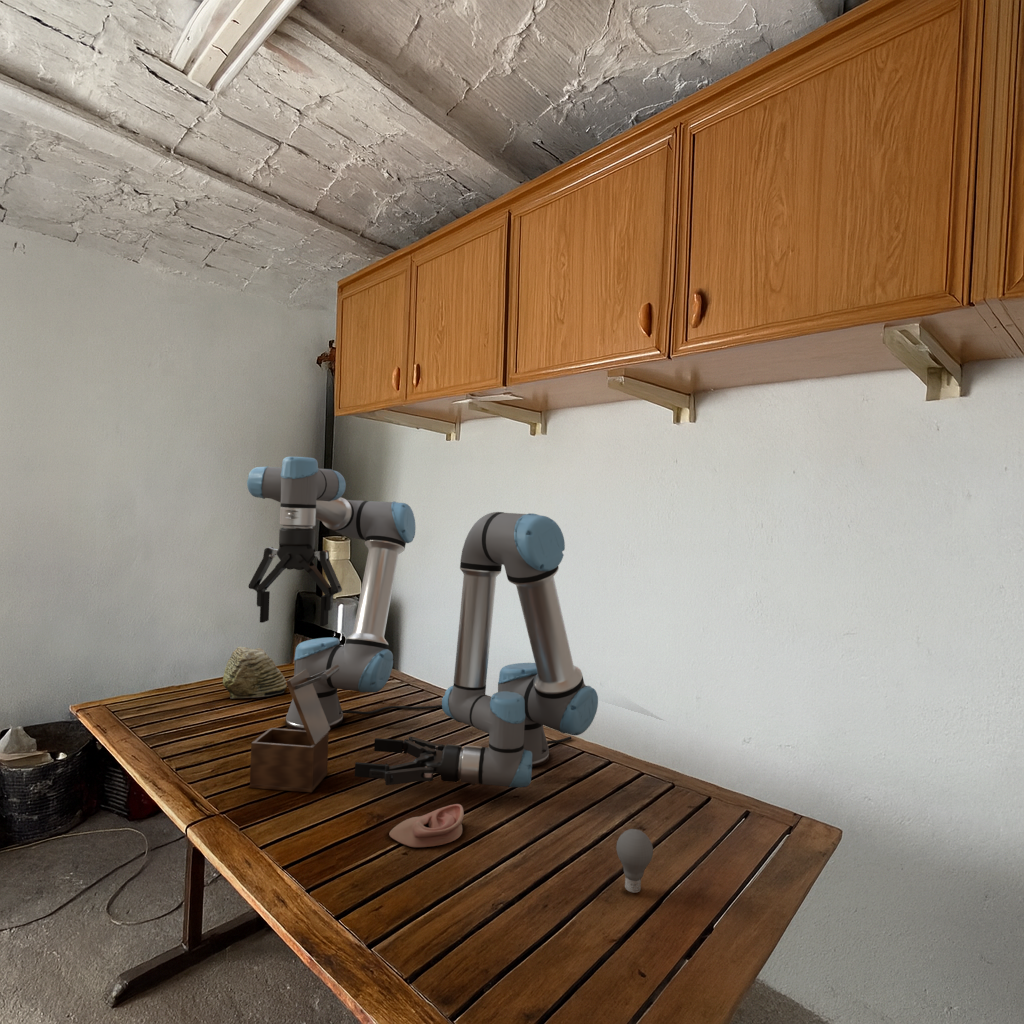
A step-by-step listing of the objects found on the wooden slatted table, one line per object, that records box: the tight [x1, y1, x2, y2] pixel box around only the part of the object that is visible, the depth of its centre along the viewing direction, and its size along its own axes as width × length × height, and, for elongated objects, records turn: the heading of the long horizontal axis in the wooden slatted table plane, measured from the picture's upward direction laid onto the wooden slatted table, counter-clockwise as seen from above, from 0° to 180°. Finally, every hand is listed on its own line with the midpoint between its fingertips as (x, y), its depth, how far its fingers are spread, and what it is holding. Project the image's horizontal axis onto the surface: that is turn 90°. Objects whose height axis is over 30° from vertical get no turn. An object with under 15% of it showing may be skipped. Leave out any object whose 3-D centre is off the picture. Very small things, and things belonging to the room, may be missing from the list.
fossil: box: [222, 646, 288, 699], centre depth 198 cm, size 9×18×15 cm, turn 132°
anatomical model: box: [388, 803, 465, 848], centre depth 121 cm, size 13×4×12 cm
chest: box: [249, 727, 330, 793], centre depth 140 cm, size 14×9×10 cm, turn 86°
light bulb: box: [615, 828, 654, 894], centre depth 106 cm, size 6×6×10 cm
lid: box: [286, 665, 339, 746], centre depth 140 cm, size 15×9×9 cm
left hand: (294, 623), depth 140 cm, fingers open, 13 cm apart
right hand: (365, 756), depth 139 cm, fingers open, 13 cm apart
